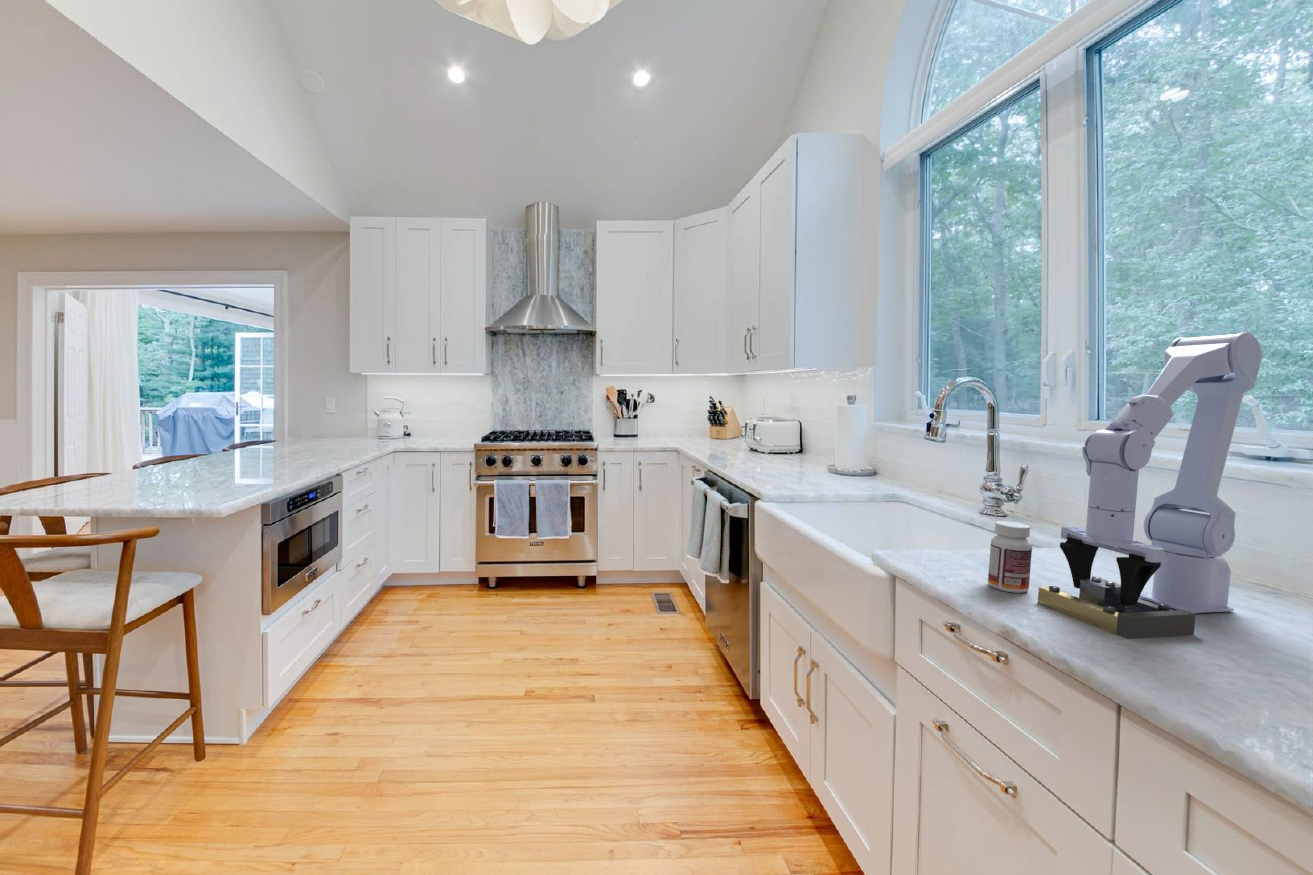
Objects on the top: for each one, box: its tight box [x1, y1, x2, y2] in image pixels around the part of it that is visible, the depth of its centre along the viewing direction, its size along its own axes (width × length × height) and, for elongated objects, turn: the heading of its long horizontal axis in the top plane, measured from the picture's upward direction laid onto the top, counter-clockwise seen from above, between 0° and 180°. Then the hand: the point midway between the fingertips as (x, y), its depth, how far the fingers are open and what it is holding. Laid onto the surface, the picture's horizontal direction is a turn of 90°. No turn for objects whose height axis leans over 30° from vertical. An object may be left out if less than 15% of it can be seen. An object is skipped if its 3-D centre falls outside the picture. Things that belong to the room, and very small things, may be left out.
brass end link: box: [1037, 585, 1118, 635], centre depth 87 cm, size 2×13×3 cm, turn 12°
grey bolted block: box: [1078, 576, 1125, 613], centre depth 89 cm, size 4×4×6 cm
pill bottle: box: [987, 520, 1033, 594], centre depth 100 cm, size 6×6×11 cm
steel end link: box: [1125, 598, 1175, 613], centre depth 89 cm, size 2×13×3 cm, turn 12°
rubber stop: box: [1115, 609, 1197, 640], centre depth 81 cm, size 12×2×3 cm, turn 102°
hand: (1103, 595), depth 89 cm, fingers open, 7 cm apart
